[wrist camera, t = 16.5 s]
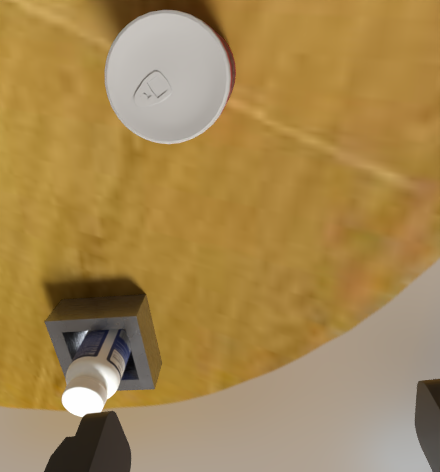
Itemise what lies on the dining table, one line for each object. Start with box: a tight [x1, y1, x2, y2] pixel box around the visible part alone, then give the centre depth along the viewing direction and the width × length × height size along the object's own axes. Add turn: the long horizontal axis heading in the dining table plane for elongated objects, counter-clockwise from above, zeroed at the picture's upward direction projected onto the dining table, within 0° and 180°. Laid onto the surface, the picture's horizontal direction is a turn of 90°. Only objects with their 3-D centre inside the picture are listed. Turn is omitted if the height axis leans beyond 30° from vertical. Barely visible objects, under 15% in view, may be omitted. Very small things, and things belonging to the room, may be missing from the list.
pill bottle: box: [62, 329, 131, 417], centre depth 41 cm, size 5×5×10 cm
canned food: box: [105, 10, 236, 144], centre depth 29 cm, size 8×8×11 cm
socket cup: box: [45, 294, 162, 390], centre depth 44 cm, size 10×10×4 cm
